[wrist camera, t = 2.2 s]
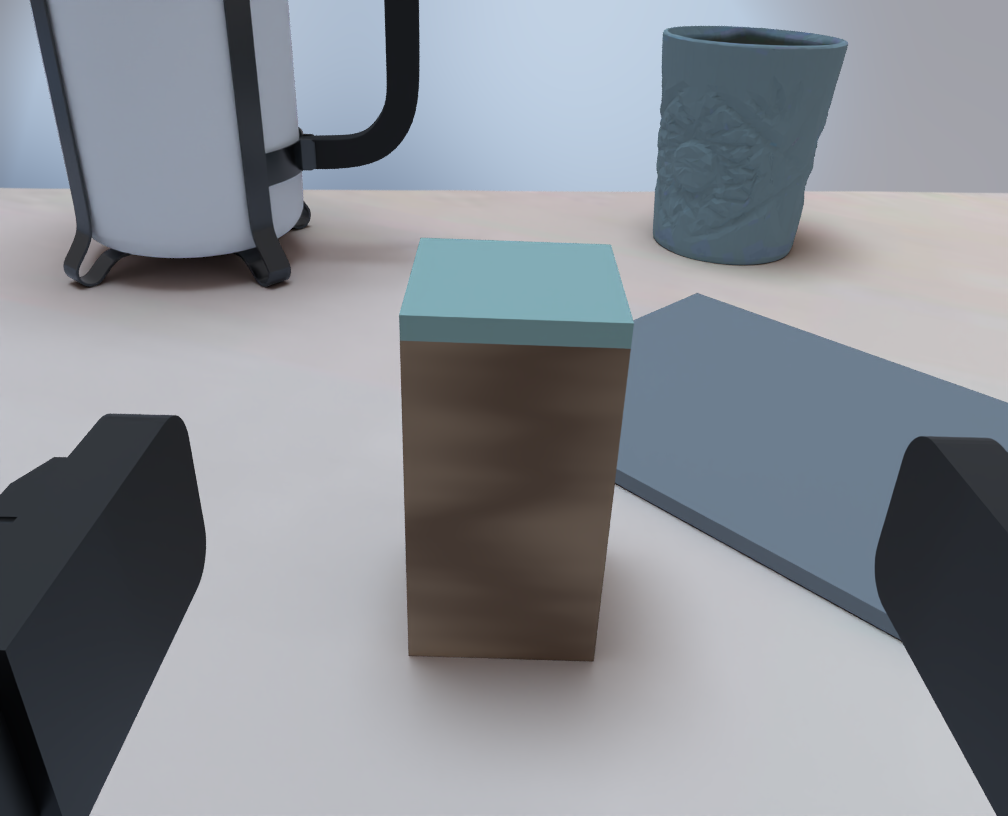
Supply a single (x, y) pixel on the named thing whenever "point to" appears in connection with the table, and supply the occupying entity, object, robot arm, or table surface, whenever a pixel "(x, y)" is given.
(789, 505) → the mat
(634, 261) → the table surface
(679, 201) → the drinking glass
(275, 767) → the table surface
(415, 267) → the walnut block
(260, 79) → the coffee press
